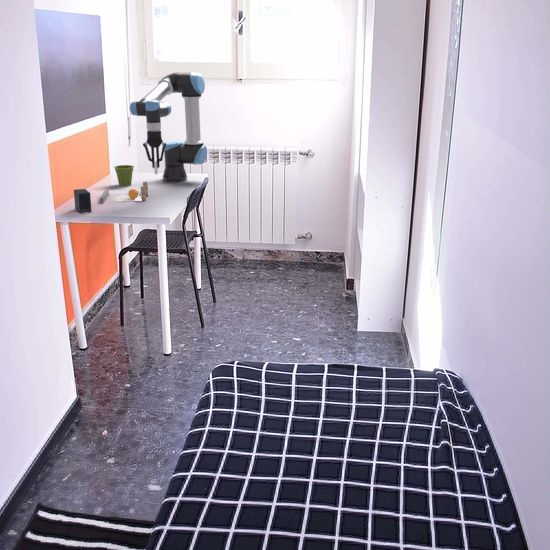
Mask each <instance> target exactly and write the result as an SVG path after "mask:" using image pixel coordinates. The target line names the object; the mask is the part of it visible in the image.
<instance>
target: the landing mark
mask: <svg viewBox="0 0 550 550" xmlns="http://www.w3.org/2000/svg"><path fill="white" fill-rule="evenodd" d="M133 201H135V199H131V198H130V197H129V195H118V197H117V198H116V200H115V202H116V203H133Z"/></svg>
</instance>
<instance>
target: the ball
mask: <svg viewBox="0 0 550 550" xmlns="http://www.w3.org/2000/svg"><path fill="white" fill-rule="evenodd" d="M127 194H128V195H129V197H130V198H131V199H135V198H137V197H138V195H139V192H138V190H137V189H135V188H131V189H129V191H128V193H127Z"/></svg>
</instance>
